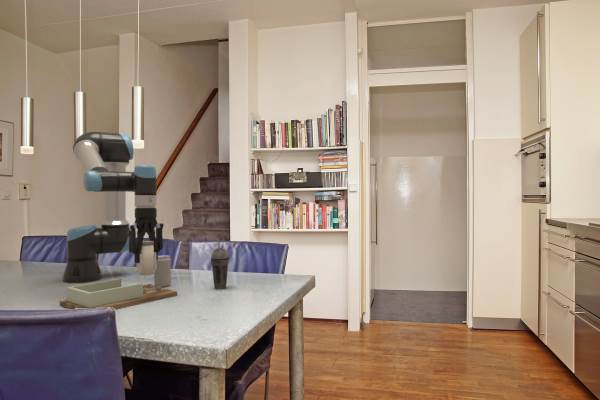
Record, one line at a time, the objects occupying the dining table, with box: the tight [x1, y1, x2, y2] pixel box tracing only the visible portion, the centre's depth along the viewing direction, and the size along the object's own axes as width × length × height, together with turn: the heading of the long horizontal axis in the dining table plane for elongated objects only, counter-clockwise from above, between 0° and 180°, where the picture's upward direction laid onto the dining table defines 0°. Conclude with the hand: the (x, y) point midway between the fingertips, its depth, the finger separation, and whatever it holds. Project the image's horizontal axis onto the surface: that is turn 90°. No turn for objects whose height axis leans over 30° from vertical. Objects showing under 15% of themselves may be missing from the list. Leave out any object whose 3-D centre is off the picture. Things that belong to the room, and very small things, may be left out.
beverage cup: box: [210, 237, 230, 290], centre depth 168 cm, size 7×7×20 cm
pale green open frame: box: [66, 278, 144, 308], centre depth 144 cm, size 15×19×4 cm
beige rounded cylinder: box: [138, 240, 154, 276], centre depth 156 cm, size 5×5×12 cm
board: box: [59, 283, 178, 310], centre depth 149 cm, size 20×32×3 cm, turn 142°
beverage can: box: [153, 254, 172, 288], centre depth 172 cm, size 6×6×12 cm
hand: (146, 270), depth 157 cm, fingers closed on beige rounded cylinder, 5 cm apart
